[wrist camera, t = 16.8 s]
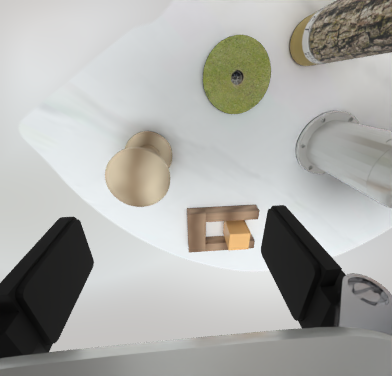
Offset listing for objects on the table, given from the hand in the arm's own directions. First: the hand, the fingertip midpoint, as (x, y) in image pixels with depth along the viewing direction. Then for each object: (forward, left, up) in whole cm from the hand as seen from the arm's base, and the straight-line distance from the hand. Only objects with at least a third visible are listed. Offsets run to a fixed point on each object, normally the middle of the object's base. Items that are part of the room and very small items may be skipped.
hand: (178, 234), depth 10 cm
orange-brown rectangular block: (-12, +24, -30) cm, 40 cm away
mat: (-10, -8, -31) cm, 33 cm away
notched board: (-9, +24, -30) cm, 39 cm away
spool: (+6, +5, -30) cm, 31 cm away
